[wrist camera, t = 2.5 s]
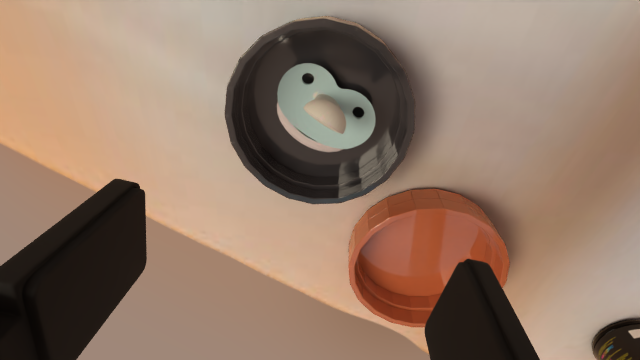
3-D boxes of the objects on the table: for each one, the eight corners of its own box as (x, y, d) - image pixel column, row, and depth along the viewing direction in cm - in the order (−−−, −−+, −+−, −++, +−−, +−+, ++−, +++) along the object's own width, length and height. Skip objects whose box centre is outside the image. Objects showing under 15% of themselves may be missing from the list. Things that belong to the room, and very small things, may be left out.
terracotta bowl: (520, 206, 29) (540, 231, 26) (458, 310, 36) (468, 340, 32) (371, 171, 29) (373, 191, 26) (335, 282, 35) (333, 309, 32)
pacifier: (339, 163, 29) (384, 104, 26) (334, 205, 23) (390, 136, 20) (262, 114, 27) (301, 47, 25) (238, 147, 22) (284, 65, 19)
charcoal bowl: (433, 41, 24) (445, 48, 21) (378, 197, 30) (381, 220, 27) (250, -4, 24) (234, -4, 21) (232, 163, 30) (218, 182, 27)
